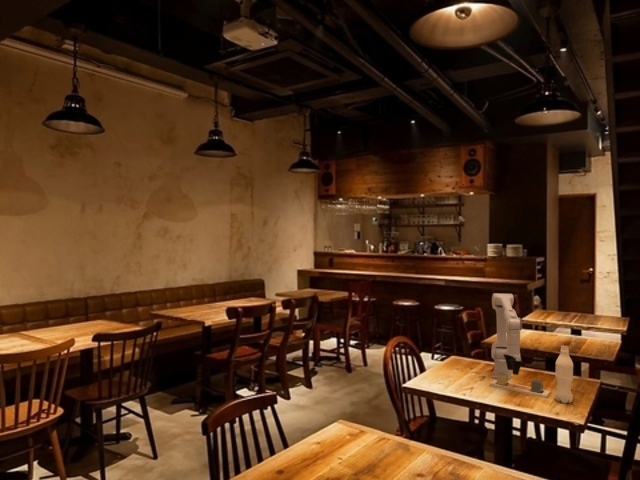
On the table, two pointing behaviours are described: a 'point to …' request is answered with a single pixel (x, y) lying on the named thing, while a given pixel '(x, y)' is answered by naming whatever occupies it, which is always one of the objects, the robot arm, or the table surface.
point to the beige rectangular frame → (520, 389)
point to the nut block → (537, 386)
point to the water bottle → (564, 376)
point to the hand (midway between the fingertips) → (512, 372)
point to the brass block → (502, 379)
